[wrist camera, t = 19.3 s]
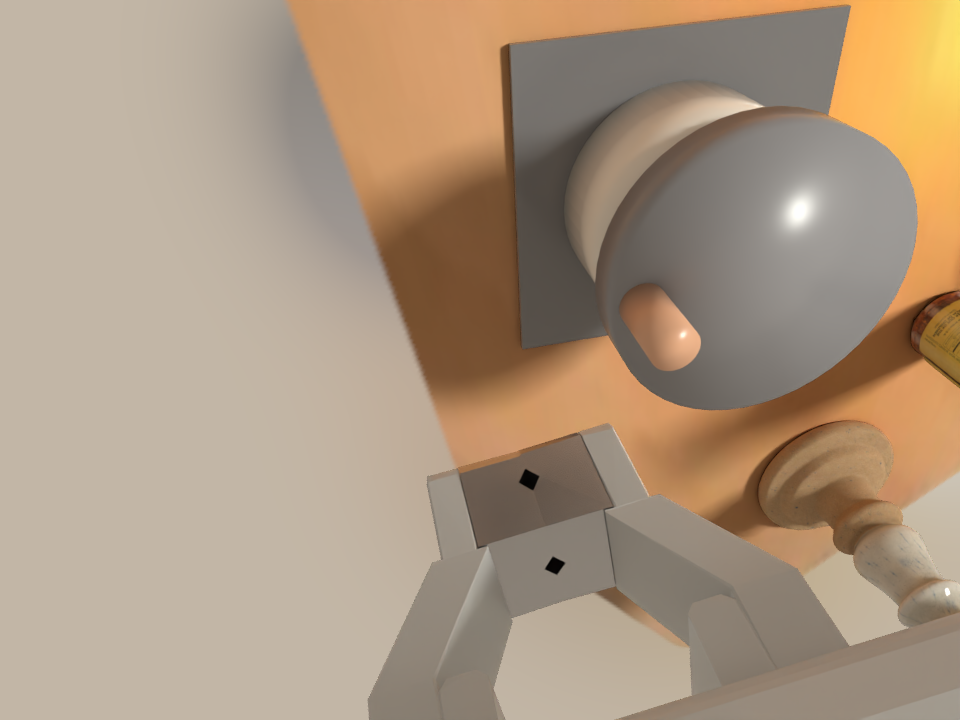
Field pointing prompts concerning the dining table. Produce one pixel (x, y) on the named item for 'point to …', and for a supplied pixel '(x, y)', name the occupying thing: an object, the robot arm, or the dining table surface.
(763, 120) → the lid
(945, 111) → the dining table surface
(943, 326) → the sauce bottle
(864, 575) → the candle holder
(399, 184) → the dining table surface
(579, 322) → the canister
